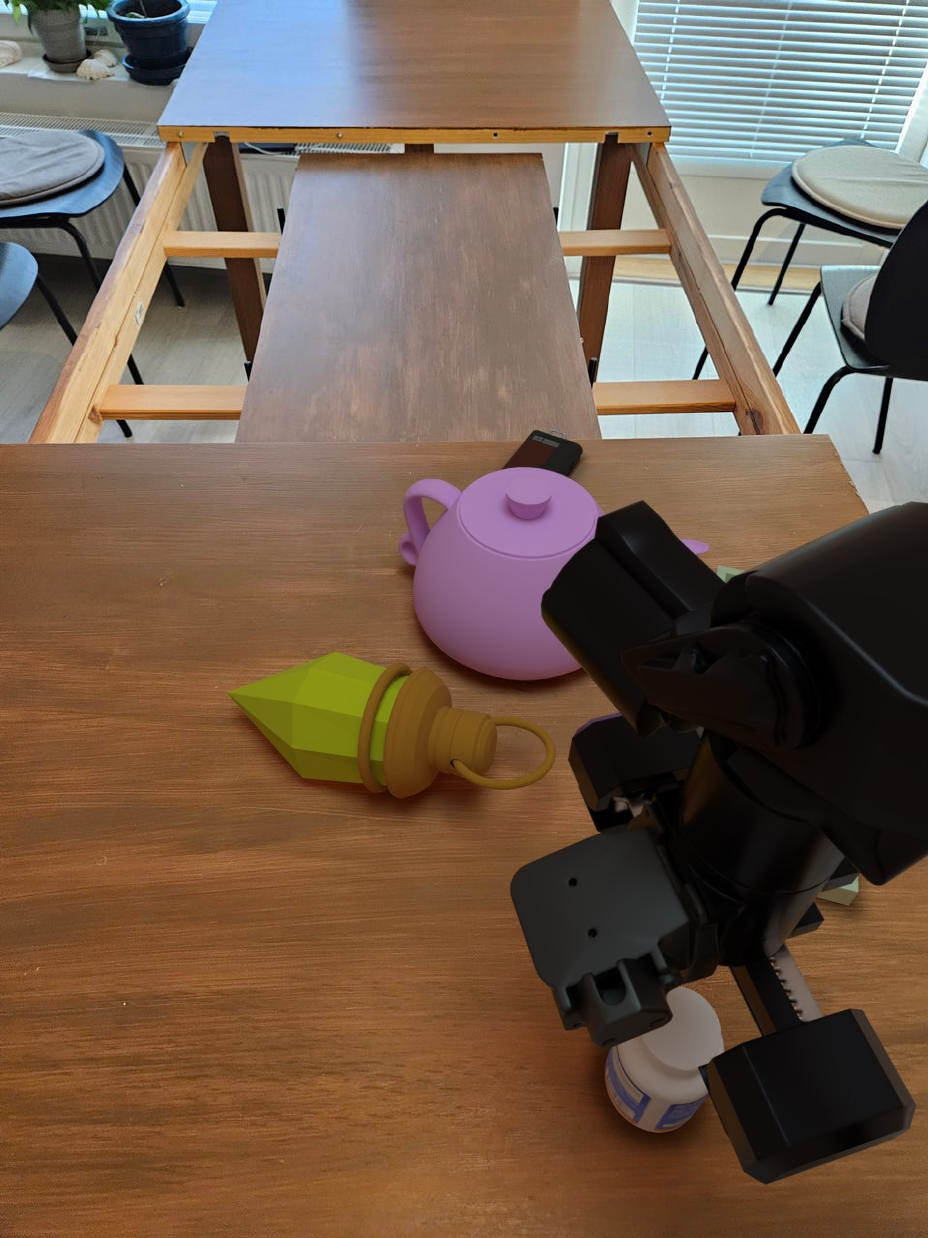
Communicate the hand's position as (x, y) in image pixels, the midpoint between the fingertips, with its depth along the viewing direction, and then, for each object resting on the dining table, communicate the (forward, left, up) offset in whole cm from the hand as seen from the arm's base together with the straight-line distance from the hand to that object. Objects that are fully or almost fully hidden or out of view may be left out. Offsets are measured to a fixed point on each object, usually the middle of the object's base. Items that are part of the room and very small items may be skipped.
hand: (676, 979), depth 43 cm
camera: (+49, +18, -12) cm, 54 cm away
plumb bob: (+15, +21, -12) cm, 29 cm away
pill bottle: (-1, -1, -12) cm, 12 cm away
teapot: (+32, +14, -12) cm, 37 cm away
